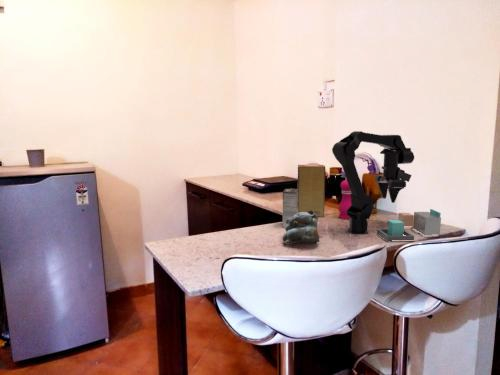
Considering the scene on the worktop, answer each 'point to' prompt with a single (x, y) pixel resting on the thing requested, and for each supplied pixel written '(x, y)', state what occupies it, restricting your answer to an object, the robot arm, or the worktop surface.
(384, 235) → the parts tray
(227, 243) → the worktop surface
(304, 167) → the food packaging
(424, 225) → the panel
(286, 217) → the coffee box
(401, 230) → the teal block
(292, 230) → the grey-green lumpy figure
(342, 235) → the worktop surface
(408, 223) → the terracotta block
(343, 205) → the pepper mill
